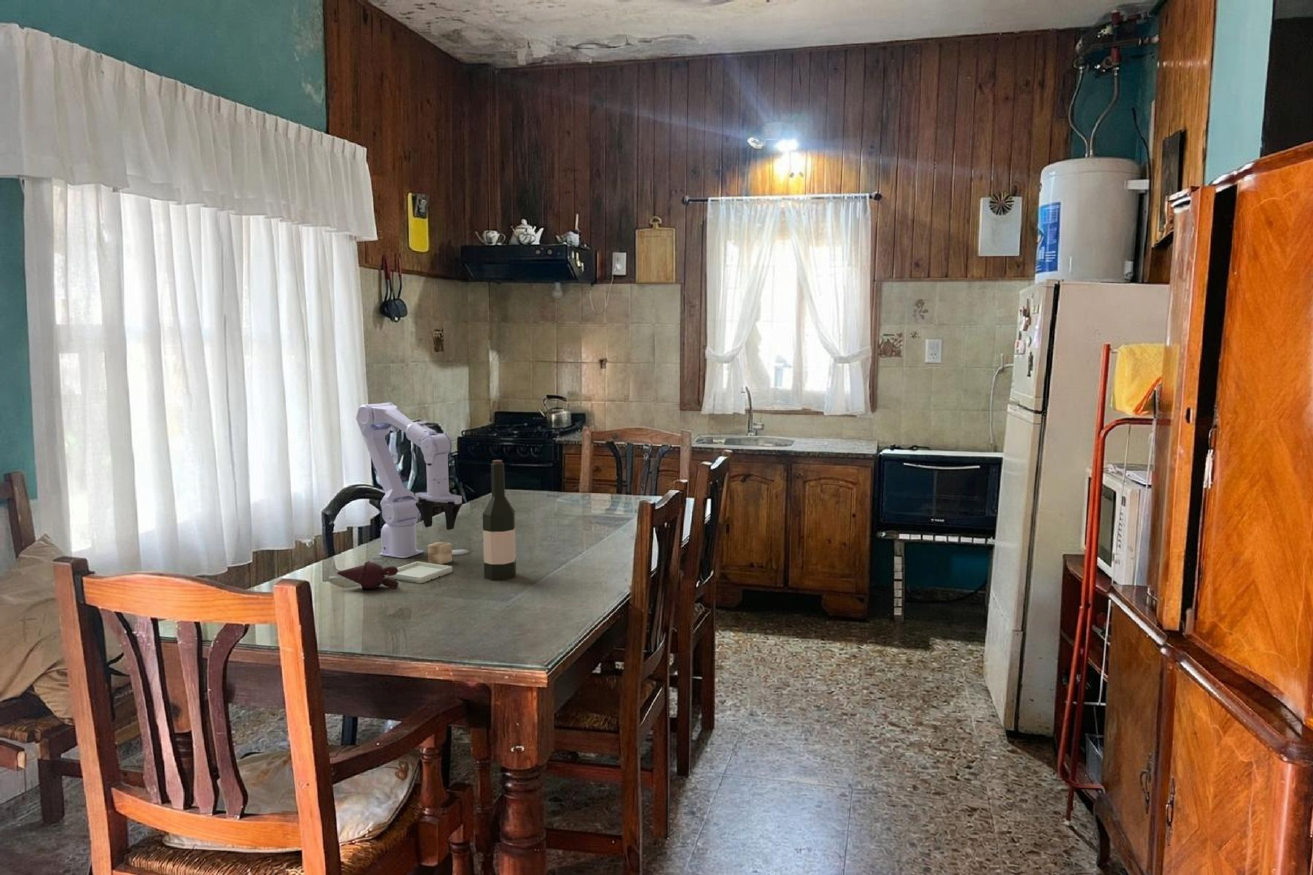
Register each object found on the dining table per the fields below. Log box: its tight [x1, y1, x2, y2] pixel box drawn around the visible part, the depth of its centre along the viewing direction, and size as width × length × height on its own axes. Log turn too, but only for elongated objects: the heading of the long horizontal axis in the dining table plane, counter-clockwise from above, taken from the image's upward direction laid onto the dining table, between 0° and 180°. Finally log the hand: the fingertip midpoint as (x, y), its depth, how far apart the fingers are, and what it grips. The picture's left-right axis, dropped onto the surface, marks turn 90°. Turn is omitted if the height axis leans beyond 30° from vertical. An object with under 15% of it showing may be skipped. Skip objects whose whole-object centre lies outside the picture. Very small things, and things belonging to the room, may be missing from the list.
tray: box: [385, 560, 453, 584], centre depth 223 cm, size 12×12×2 cm
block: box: [427, 541, 453, 565], centre depth 236 cm, size 4×4×5 cm
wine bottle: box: [482, 459, 517, 582], centre depth 219 cm, size 8×8×30 cm
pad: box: [452, 548, 470, 556], centre depth 246 cm, size 6×6×1 cm
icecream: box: [336, 560, 399, 591], centre depth 210 cm, size 7×7×15 cm
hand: (439, 527), depth 235 cm, fingers open, 7 cm apart
